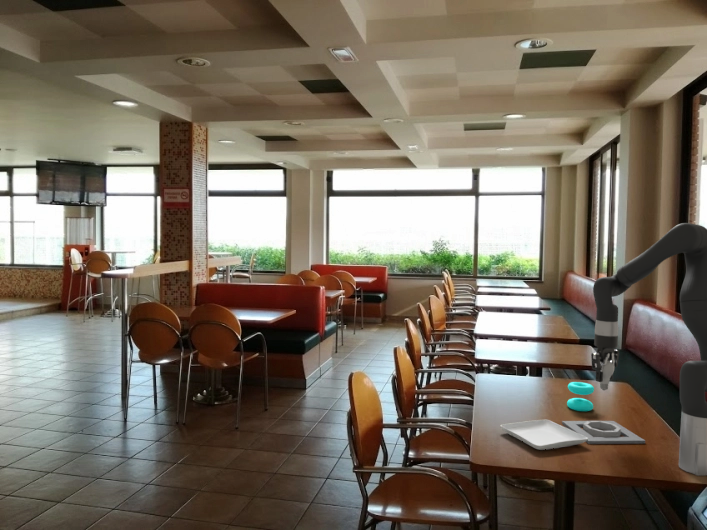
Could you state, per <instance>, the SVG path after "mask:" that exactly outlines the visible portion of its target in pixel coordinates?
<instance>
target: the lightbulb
mask: <svg viewBox="0 0 707 530" xmlns="http://www.w3.org/2000/svg"><path fill="white" fill-rule="evenodd" d="M600 362H601V361H600ZM600 368H601V365H600ZM614 371H615V369H614V365H613V364H612V362H610V361H607V363H606V366H604V369H603V381H602V382H599V388H600V390H602V391H606V390H608V389H609V384H610V381H611V380H610V377H611V375H612V374H613V375H614Z"/></svg>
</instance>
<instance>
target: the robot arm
mask: <svg viewBox="0 0 707 530" xmlns="http://www.w3.org/2000/svg"><path fill="white" fill-rule="evenodd" d="M682 253H683V254H684V261H685V275H684V279H683V282H682V284H681V289H680V292H679V306H680V307H679V308H680V315H681V319H682V321H683V323H684V325H685V327H686V328H687V329H688V331H689V332H690V333H691V335H692V337H693V338H694V339H695V341H696V343H697V346H698V350H699V356H700V358H699V359H700V360H688V361H686V362H684V363H683V364H682V366H681V368H680V371H679V400H680V401H679V402H680V404H681V413H680V414H681V415H680V416H681V418H680V432H679V448H678V449H679V451H678V453H679V454H678V467H679V469H681V470H683V471H684V472H687V473H690V474H693V475H695V476H707V401H706V393H707V228H706V227H705V226H703V225H702V224H695V223H690V222H682V223H678V224H677V225H675V226H674V227H672V228H671V229H670V230H669V231H667V233H665V234H664V235H663V236H662V237H661V238H660V239H659V240H657V241H656V242H655V243H653V244H652V245H651V246H649V248H647V249H646V250H645V251H643V252H642V253H641V254H639V255H638V256H636V257H634V258H633V259H631V260H630V261H628V262H626V263H625V264H624V265H622V266H620V267H619V268H618V269H617V272H616V273H615V274H613V275H612V276H602V277H599V278H598V277H597V278H596V280H595V281H594V283H593V287H592V289H593V290H592V292H593V293H592V294H593V298H594V303H595V307H596V313H595V314H596V316H595V317H596V318H595V324H594V325H595V326H594V339H593V340H594V341H593V342H594V343H593V345H594V346H595V347H597V348H596V349H597V350H596V352H592V353H590V355H591V356H590V357H591V369H592V370H594V371H595V381H596V382H599V383H600V382H602V381H603V369H604V366H606V363H607V361H610V362H612V364H613V365H614V370H615V368H617V367H619V366H618V364H619V357H620V350H618V349H617V348H618V346H619V345H618V344H619V341H618V340H619V307H618V305H616V304H615V303H614V302H613V301H614V300H613V297H614V298H615V297H618V296H620V295H622V294H624V293H625V292H626V291H627V290H628V289H629V288H631V287H632V286H633V285H634V284H635V285H636V283H638V282H640V281H642V280H643V279H645V278H647V277H648V276H649V275H651V274H652V273H653V272H654V271H655V270H656V269H657V267H658V266H660V264H662V263H663V262H664V261H665V260H668V259H669V258H671V257H673V256H677V255H679V254H682ZM600 361H601V362H600ZM600 365H601V368H600ZM613 379H614V373H613V374H612V375H611V377H610V380H609V381H612V380H613Z"/></svg>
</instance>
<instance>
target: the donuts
mask: <svg viewBox="0 0 707 530" xmlns="http://www.w3.org/2000/svg"><path fill="white" fill-rule="evenodd" d="M567 389H568V390H569V392H571V393H573V394H575V395H581V396H588V395H591V394H593V393H594V391H595V387H594V386H593V384H591V383H587V382H582V381H570V382H569V383H568V385H567ZM566 405H567V407H568V408H569V409H570V410H572V411H577V412H590V411H592V410H593V409H594V403H592V401H590V400H589V399H586V398H582V397H573V398H569V399H568V400H567V402H566Z"/></svg>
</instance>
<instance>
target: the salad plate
mask: <svg viewBox="0 0 707 530" xmlns="http://www.w3.org/2000/svg"><path fill="white" fill-rule="evenodd" d="M499 426H500V427H499V428H500V429H501V430H502V431H504V432H505V433H507V434H508V435H510V436H511V437H514V438H515V439H517V440H519V441H521V442H522V441H523V443H524V444H526V445H528V446H530V447H532V448H534V449H536V450H538V451H539V450H540V451H543V450H544V451H545V449H546V450H551V449H552V450H554V449H559V448H560V449H561V448H566V447H572V446H575V445H576V446H577V445H580V444H584V443H585V441H587V440H588V438H587V437H585V436H583V435H581V434H579V433H576V432H574V431H572V430H570V429H568V428H567V427H566V426H564V425H561V424H558V423H556V422H554V421H552V420H550V419H547V418H546V419H545V418H544V419H536V420H535V419H534V420H526V421H525V420H524V421H517V422H511V423H510V422H509V423H504V424H500V425H499ZM553 448H554V449H553Z"/></svg>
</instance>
